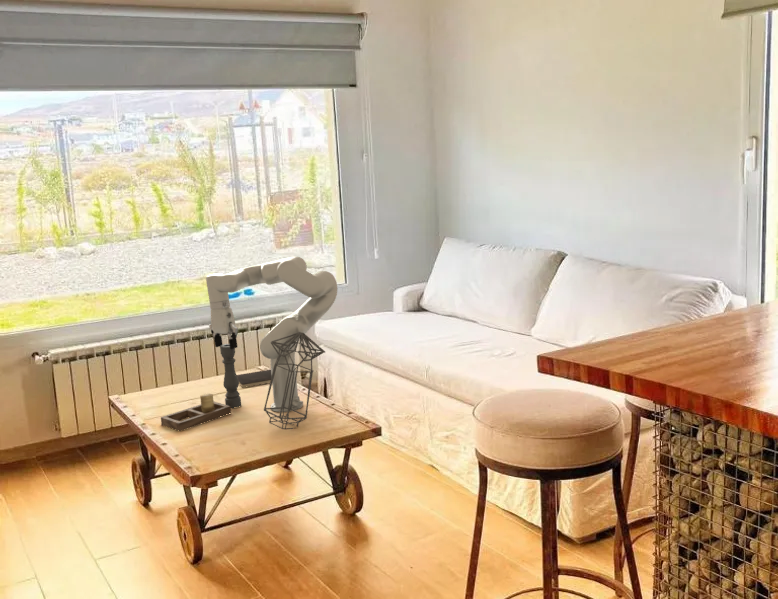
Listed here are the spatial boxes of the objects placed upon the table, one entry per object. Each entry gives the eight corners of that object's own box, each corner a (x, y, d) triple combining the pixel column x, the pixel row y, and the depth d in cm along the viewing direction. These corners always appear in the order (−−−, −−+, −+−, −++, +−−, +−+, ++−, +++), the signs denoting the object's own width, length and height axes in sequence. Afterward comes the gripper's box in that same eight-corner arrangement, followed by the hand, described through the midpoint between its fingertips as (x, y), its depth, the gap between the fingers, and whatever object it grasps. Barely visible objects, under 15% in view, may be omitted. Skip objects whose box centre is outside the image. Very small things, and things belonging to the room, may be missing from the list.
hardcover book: (294, 380, 378) (293, 375, 378) (242, 389, 370) (241, 384, 370) (284, 371, 393) (284, 366, 392) (234, 380, 385) (234, 375, 384)
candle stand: (231, 413, 337) (229, 393, 335) (179, 431, 320) (177, 410, 319) (212, 408, 345) (210, 388, 344) (161, 424, 329) (159, 404, 327)
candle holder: (236, 402, 350) (230, 342, 345) (244, 405, 346) (238, 345, 341) (222, 406, 346) (216, 345, 342) (230, 409, 342) (224, 348, 337)
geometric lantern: (280, 433, 305) (299, 337, 302) (252, 420, 315) (270, 326, 312) (313, 430, 317) (331, 338, 314) (285, 418, 327) (302, 327, 324)
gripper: (241, 303, 334) (247, 346, 338) (214, 301, 346) (221, 343, 349) (225, 308, 329) (232, 351, 332) (199, 305, 341) (205, 347, 344)
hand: (226, 347), depth 341 cm, fingers open, 9 cm apart
